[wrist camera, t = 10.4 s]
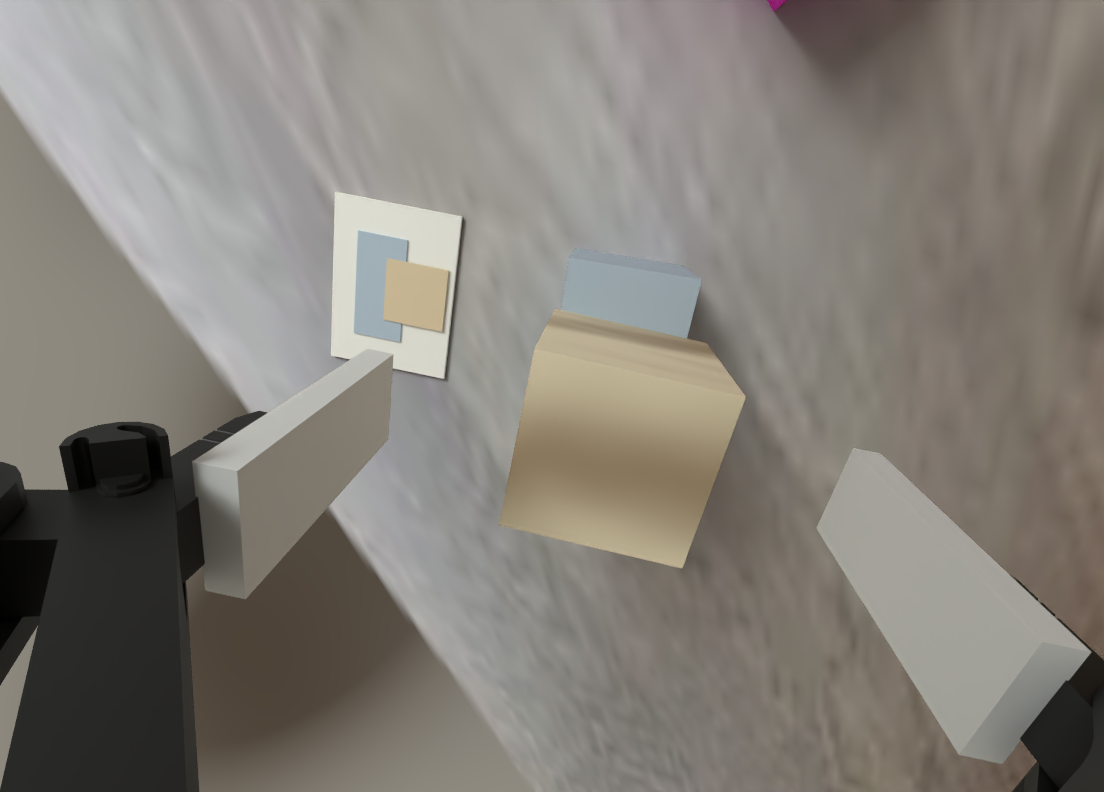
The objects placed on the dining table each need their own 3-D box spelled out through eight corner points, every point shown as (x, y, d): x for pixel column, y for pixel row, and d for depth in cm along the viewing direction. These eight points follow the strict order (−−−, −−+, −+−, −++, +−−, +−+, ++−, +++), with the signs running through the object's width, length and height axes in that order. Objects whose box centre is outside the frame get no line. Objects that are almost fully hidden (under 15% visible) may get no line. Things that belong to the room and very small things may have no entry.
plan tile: (337, 191, 24) (333, 191, 23) (462, 216, 24) (460, 216, 23) (332, 354, 27) (329, 356, 26) (444, 377, 26) (442, 379, 26)
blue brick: (576, 247, 24) (569, 257, 19) (682, 265, 24) (701, 279, 19) (545, 439, 27) (532, 486, 23) (637, 456, 27) (643, 507, 22)
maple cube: (554, 308, 20) (534, 348, 14) (706, 342, 20) (746, 396, 14) (526, 444, 22) (498, 525, 16) (662, 475, 22) (682, 568, 16)
